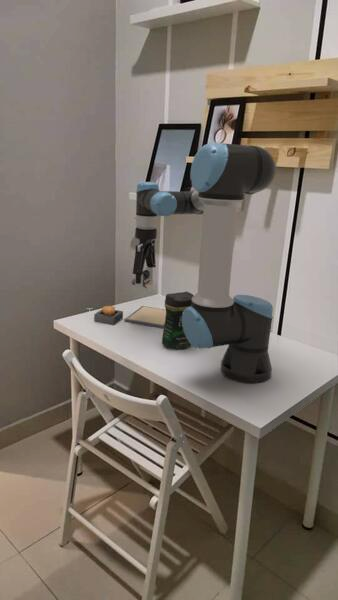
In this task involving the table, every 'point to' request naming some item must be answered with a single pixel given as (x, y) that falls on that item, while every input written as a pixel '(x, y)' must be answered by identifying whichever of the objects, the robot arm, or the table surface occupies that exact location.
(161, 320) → the board
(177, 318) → the coffee jar
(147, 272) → the eagle figurine
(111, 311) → the button
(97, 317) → the button housing
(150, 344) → the table surface
